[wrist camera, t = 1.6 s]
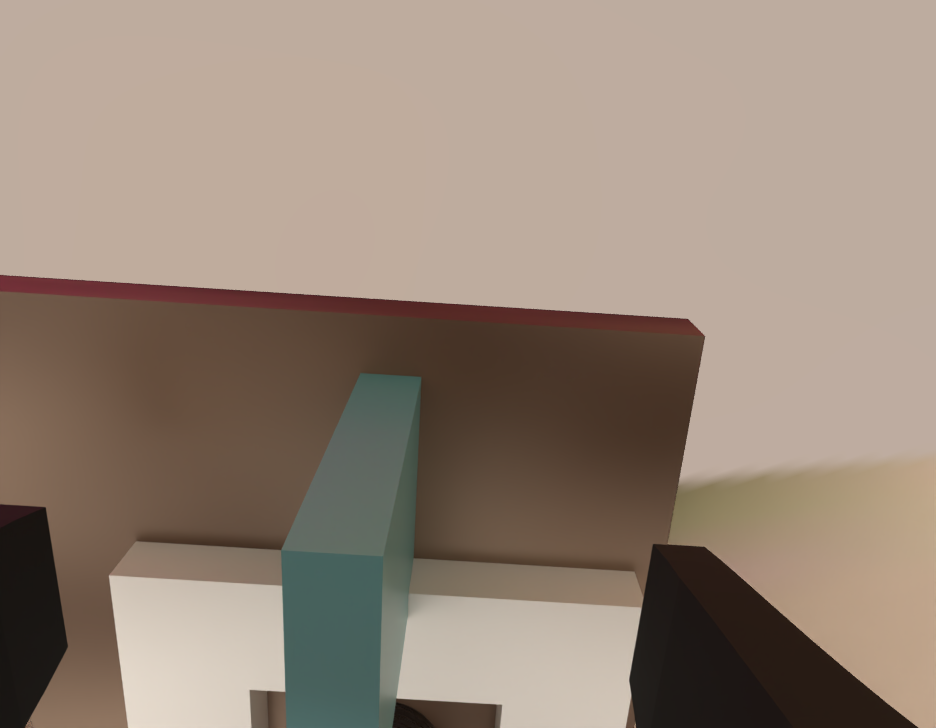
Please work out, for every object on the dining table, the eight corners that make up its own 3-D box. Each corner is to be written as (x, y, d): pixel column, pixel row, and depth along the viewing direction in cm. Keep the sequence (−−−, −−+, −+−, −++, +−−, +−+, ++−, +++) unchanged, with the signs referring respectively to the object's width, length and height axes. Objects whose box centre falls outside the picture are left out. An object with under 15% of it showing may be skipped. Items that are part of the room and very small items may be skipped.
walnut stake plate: (591, 882, 17) (597, 928, 16) (87, 853, 17) (63, 897, 16) (687, 318, 12) (705, 336, 11) (-9, 274, 12) (-49, 288, 11)
